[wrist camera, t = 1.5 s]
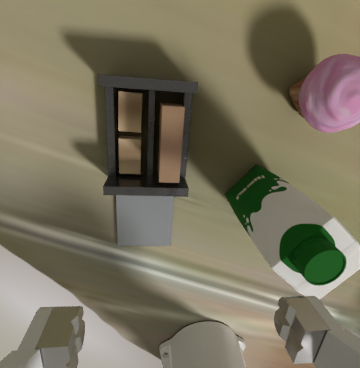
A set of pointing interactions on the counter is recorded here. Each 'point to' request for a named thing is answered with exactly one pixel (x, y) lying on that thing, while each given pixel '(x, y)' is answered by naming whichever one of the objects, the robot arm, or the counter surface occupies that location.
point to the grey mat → (144, 220)
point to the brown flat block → (170, 141)
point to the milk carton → (294, 233)
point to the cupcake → (330, 94)
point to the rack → (148, 181)
